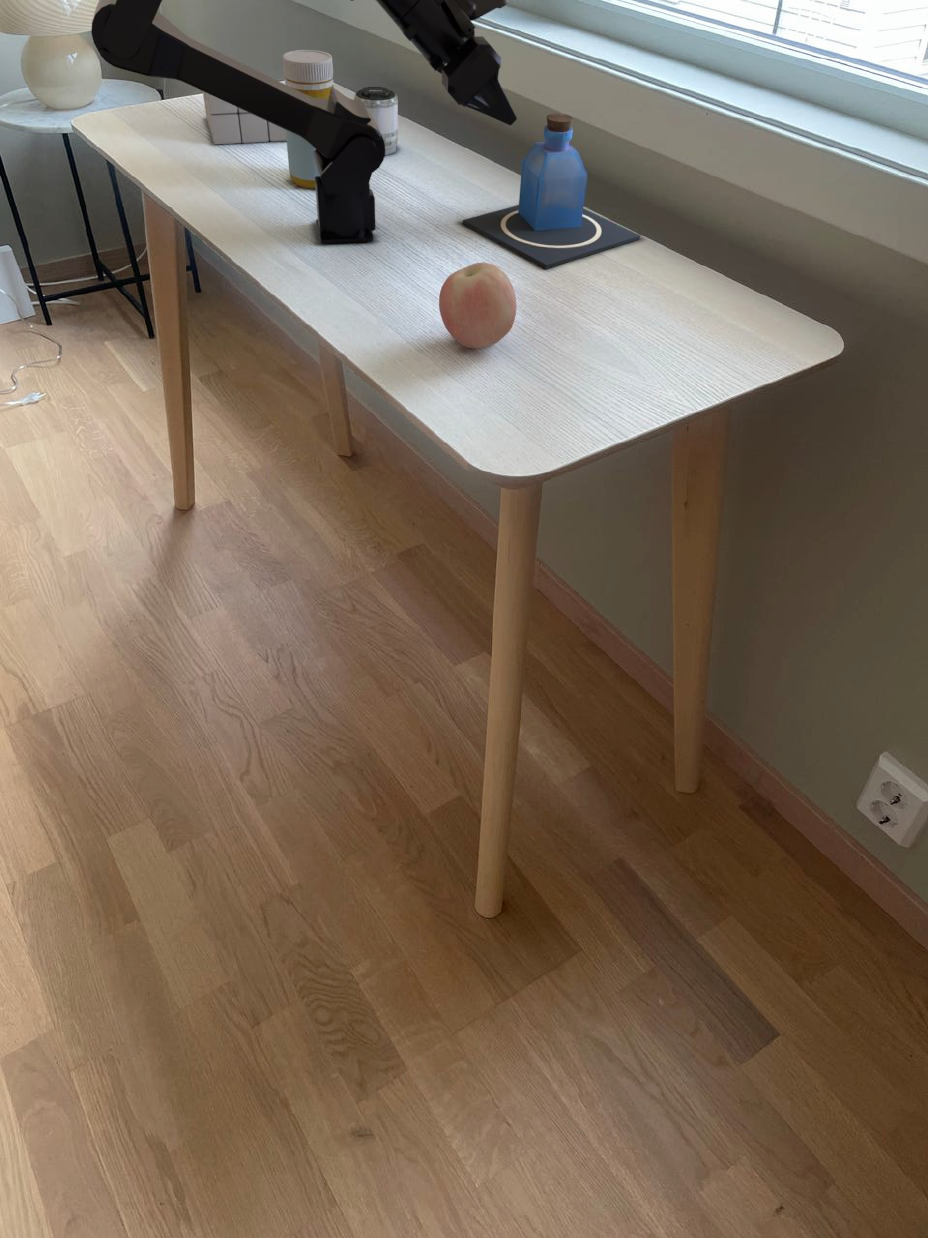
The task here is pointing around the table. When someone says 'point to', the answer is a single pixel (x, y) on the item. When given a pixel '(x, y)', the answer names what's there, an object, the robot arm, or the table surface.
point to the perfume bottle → (553, 179)
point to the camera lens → (382, 113)
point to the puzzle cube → (238, 124)
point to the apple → (478, 305)
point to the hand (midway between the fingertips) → (504, 109)
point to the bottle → (314, 80)
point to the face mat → (550, 236)
